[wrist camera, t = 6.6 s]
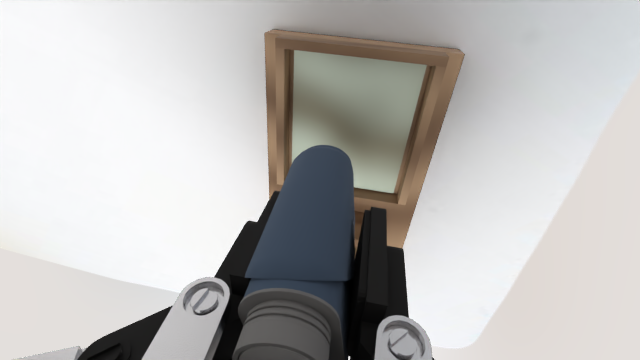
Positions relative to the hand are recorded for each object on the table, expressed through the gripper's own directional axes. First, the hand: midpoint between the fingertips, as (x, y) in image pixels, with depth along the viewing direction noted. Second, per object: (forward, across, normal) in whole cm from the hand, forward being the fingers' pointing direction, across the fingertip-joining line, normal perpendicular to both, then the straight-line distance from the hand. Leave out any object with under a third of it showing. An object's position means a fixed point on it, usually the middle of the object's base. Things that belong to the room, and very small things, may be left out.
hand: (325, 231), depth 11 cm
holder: (+11, 0, +5) cm, 12 cm away
